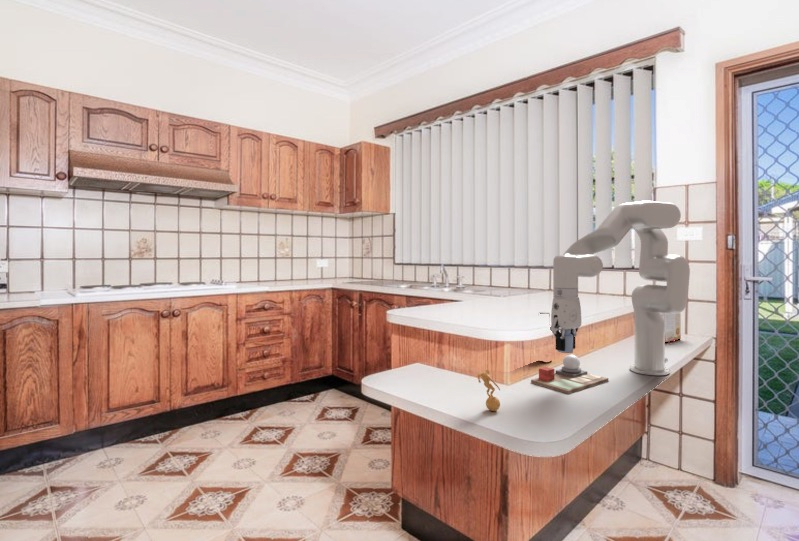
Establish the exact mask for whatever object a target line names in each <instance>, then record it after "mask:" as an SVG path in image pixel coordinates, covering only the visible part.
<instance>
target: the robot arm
mask: <svg viewBox="0 0 799 541" xmlns="http://www.w3.org/2000/svg"><path fill="white" fill-rule="evenodd" d="M680 220H681V210H680V208H679V207H678V206H677V205H676V204H674V203H672V202H663V201H653V200H641V201H634V202H633V201H632V202H625V203H624V202H623V203H620V204H618V205H616V206H615V207H614V208H613V209H612V210H611V211H610V213H609V214H608V215H607V217H606V218H604V220H603V222H601V223H600V224H599V226H598V227H597V228H596V229H595V230H593V231H592V232H590V233H588V234H586V235H584V236H582V237H581V238H580V239H578V240H576V241H575V242H574V243H572V244H571V245H570V246H569V247H567V249H566V250H565V252H564V253H563V254H559V255H555V257H554V258H553V262H552V263H553V265H552V266H553V270H552V271H553V274H552V275H553V279H552V280H553V283H552V285H553V288H552V290H553V292H552V293H553V296H552V297H553V298H552V304H551V312H550V314H551V315H550V316H551V317H550V319H551V320H550V321H551V324H550V326H551V327H550V330H551V331H552V335H554V337H553V338H555V350H556V351H558V350H560V351H565V339H563V338H564V333H565V330H569V329H570V330H571V333H570V334H572V335H573V350H575V349H576V337H577V335H578V334H577V332H578V330H579V328H580V327H581V326H582V309H581V300H580V297H579V277H580V278H593V277H596V276H598V275H600V273H602V271H603V269H604V268H603V267H604V263H603V260H602V259H601V258H600V257H599V256H597V255H595V254H598V253H601V252H605V251H607V250H611V249H612V248H615V247H616V246H618V245H619V244H620V243H621V241H622V240H623V239H624V238H625V237H626V235H627V234H628V233H629V232H630V230H632V228H633V230H634V231H635V232H636V234H637V235H638V237H639V240H640V253H639V262H638V273H639V277H640V278H641V279H642V280H646V281H651V282H666V285H660V284H640V285H638V286H636V287H635V288H633V290H632V293H631V302H632V307H633V314H634V353H633V354H634V361H633V362H634V363H632V364H630V365H629V371H632V372H634V373H637V374H640V375H647V376H648V375H649V376H666V375H669V374H670V372H671V371H670V369H669V368H667V367H665V366H666V365H665V364H666V363H668V362H669V359H668V358H667V357H665V356H666V354H665V353H666V352H665V349H666V345H665V344H666V343H665V323H664V320H663V318H662V316H661V314H660V312H662V313H670V314H678V313H681V314H682V312H683V311H685V309H686V307H687V303H688V295H689V286H690V272H691V270H690V269H691V268H690V265H689V262H688V260H687V258H685V257H684V256H682V255H678V254H668V251H669V250H668V249H669V241H668V238H667V236H666V234H665V233H664V232H663V230H662V229H673V228H674V227H676V226H677V225H678V224H679V222H680ZM561 328H562V329H561ZM560 330H561V333H560Z"/></svg>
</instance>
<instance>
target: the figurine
mask: <svg viewBox="0 0 799 541" xmlns="http://www.w3.org/2000/svg"><path fill="white" fill-rule="evenodd" d="M490 373H491V371H490V370H489V369H486V370H485V371H483V372H481V373H480V374H477V380H478V383H481V381H483V385H484V387H485V388H487V389H486V395H487V396H488V397H487V399H486V400H485V407H486V409H488V410H489V411H491V412H496V411H498V410H499V409H500V407H501V401H500V399H499V398H498V397H497V396H494V395H493V394H494V392H495V391H496V390H495V389H496V388H497V389H498V390H499V391H501V388H500V387H499V385H498V383H496V382H495V381H494V380H493V378H492V377H491V376H490ZM480 377H481V378H480ZM481 379H482V380H481ZM490 381H491V382H492V383H493V384H494V385H495V387H496V388H495V387H494V386H493V385H492V383H490Z"/></svg>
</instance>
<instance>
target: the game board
mask: <svg viewBox="0 0 799 541" xmlns="http://www.w3.org/2000/svg"><path fill="white" fill-rule="evenodd" d="M607 382H609V378H608V377H605V376H600V375H596V374H592V373H588V371H587V370H583V369H581V372H579V373H569V372H564V371H562V368H559V369H556V370H555V368H554V367H553V368H552V367H549V366H543V367H539V368H538V377H537V378H533V379H531V380H530V383H531V384H533V385H534V384H535V385H537V386H541V387H544V388H546V389H550V390H554V391H557V392H560V393H564V394H567V395H571V394H573V393H576V392H579V391H583V390H586V389H589V388H592V387H594V386H597V385H601V384H604V383H607Z"/></svg>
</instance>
